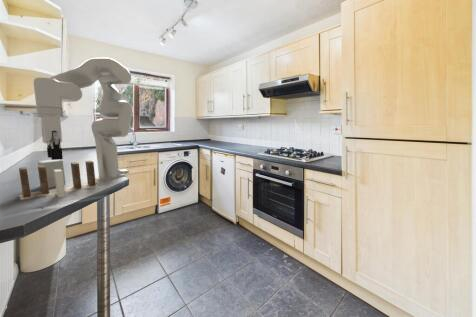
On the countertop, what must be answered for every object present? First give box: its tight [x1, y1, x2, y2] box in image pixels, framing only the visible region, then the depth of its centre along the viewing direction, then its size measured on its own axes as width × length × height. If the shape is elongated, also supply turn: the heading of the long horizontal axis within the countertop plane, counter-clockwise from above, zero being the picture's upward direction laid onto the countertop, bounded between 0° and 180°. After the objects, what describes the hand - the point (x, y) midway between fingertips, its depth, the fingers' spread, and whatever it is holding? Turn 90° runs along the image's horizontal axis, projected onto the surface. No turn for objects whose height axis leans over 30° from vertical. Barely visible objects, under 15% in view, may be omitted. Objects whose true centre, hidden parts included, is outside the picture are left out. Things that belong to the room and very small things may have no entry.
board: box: [18, 183, 100, 201], centre depth 95 cm, size 26×9×1 cm, turn 136°
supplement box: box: [37, 159, 67, 189], centre depth 102 cm, size 7×7×13 cm
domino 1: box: [37, 165, 50, 195], centre depth 91 cm, size 2×5×11 cm, turn 46°
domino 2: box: [54, 169, 66, 198], centre depth 88 cm, size 2×5×11 cm, turn 46°
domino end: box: [18, 166, 31, 198], centre depth 87 cm, size 2×5×11 cm, turn 46°
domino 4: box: [84, 160, 97, 186], centre depth 102 cm, size 2×5×11 cm, turn 46°
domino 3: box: [70, 162, 82, 189], centre depth 98 cm, size 2×5×11 cm, turn 46°
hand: (55, 158), depth 85 cm, fingers open, 9 cm apart
